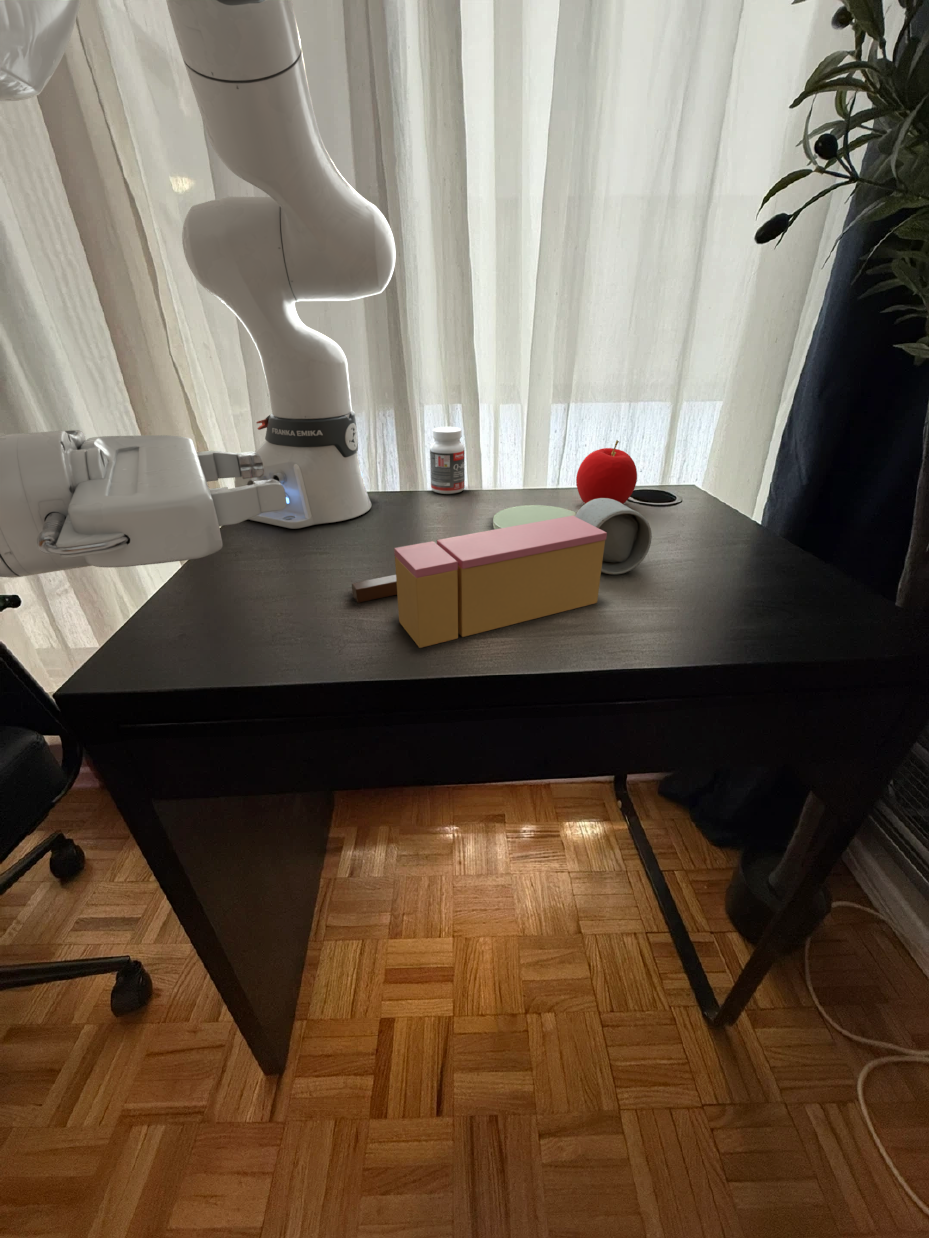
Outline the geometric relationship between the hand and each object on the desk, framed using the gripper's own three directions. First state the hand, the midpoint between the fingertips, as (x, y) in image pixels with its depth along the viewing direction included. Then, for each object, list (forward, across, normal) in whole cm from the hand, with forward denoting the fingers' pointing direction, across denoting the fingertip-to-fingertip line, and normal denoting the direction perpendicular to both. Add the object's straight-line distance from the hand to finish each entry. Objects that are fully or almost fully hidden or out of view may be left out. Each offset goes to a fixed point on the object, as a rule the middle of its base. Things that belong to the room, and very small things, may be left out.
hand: (272, 477), depth 43 cm
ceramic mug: (+37, +6, +17) cm, 41 cm away
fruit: (+52, +24, +16) cm, 59 cm away
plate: (+38, +20, +16) cm, 46 cm away
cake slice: (+12, 0, +17) cm, 21 cm away
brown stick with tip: (+18, +10, +17) cm, 26 cm away
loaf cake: (+23, 0, +16) cm, 28 cm away
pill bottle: (+34, +42, +16) cm, 56 cm away
